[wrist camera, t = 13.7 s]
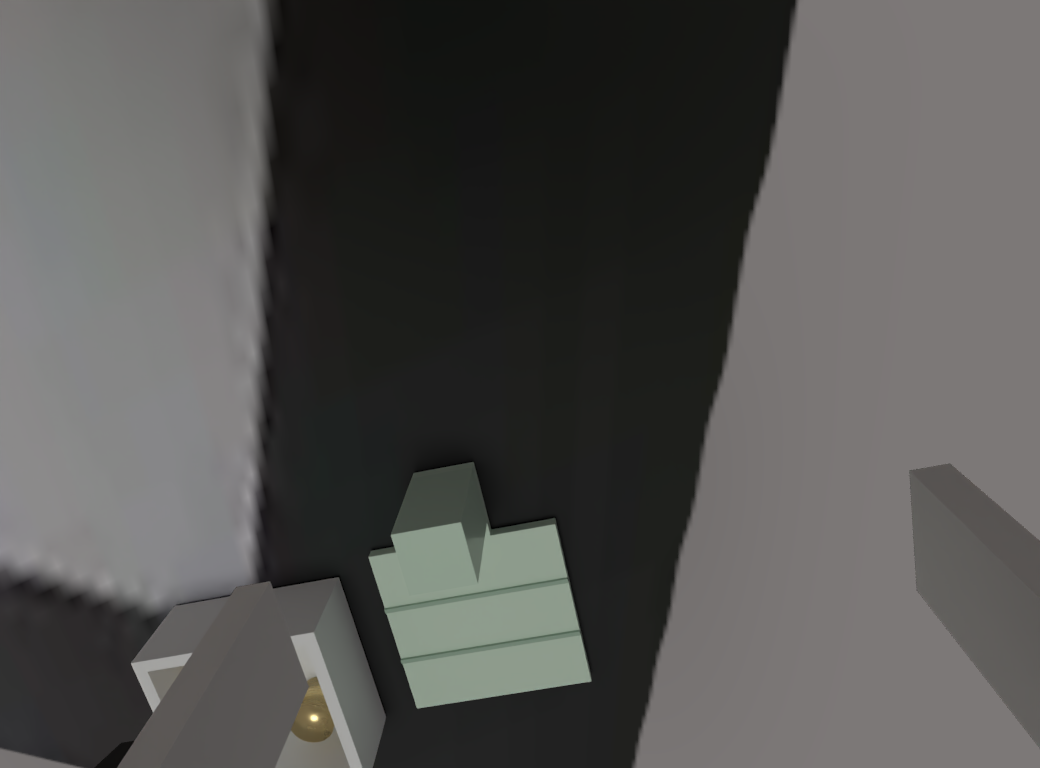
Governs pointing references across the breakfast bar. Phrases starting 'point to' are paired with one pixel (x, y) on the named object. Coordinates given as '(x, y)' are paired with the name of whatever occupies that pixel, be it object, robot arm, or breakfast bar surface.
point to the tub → (322, 653)
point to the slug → (313, 715)
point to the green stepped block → (476, 596)
